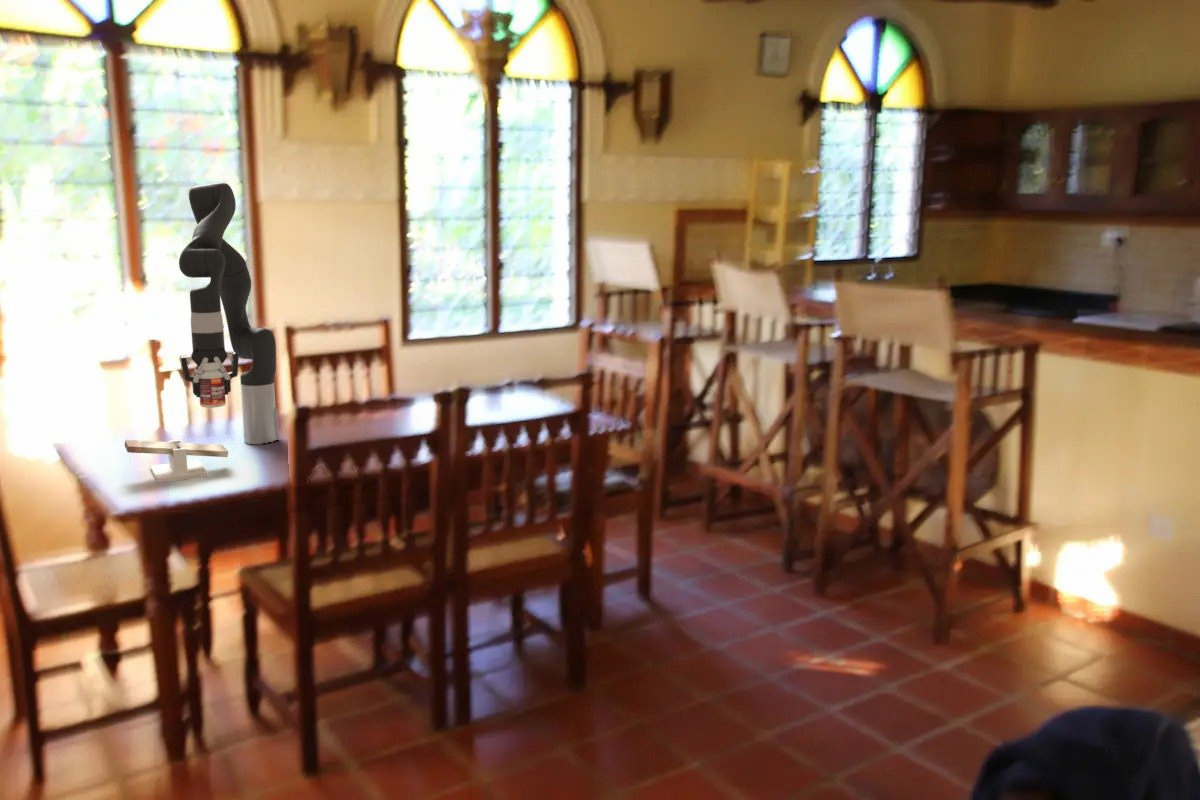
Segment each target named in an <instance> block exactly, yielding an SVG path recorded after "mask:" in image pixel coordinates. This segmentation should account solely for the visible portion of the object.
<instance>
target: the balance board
mask: <svg viewBox="0 0 1200 800" xmlns="http://www.w3.org/2000/svg"><path fill="white" fill-rule="evenodd" d="M124 447H125V450H126V452H127V453H128V454H129V453H131V454H133V453H134V454H135V453H136V454H157V455H169V454H172V455H173V449H180V448H186V456H194V457H212V458H213V457H216V458H217V457H218V458H228V455H229V450H228V449H226V447H225V446H224V445H223V444H209V443H207V444H204V443H188V442H180V443H177V442H173V443H172V442H168V441H153V440H151V441H150V440H136V439H135V440H134V439H125V440H124Z"/></svg>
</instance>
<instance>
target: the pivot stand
mask: <svg viewBox="0 0 1200 800" xmlns="http://www.w3.org/2000/svg"><path fill="white" fill-rule="evenodd" d="M167 442H172V443H173V442H177V443H181V439H175V440H167ZM187 460H188V457H187V455H186V448H180V449H173V455H172V454H168V462H169V463H164V464H153V465H150V466H149V467H150V468H149V469H150V471H151V473H152V475H153V478H154V479H155V481H156V482H157V483H165V482H166V483H167V482H174V481H181V480H182V481H183V480H190V479H189V478H191V479H199V477H200V478H205V477H208V476H209V475H208V472H207V470H206V469H205V467H204V466H203V464H202V463H201V462H200V460H199V459H196V460H189V461H187Z"/></svg>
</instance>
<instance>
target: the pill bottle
mask: <svg viewBox="0 0 1200 800" xmlns="http://www.w3.org/2000/svg"><path fill="white" fill-rule="evenodd" d="M203 366H204V370H203V372H202V374H201V375H200V378H199V380H198V382H199V386H200V397H198V398H199V405H200V407H202V408H205V409H207V408H208V409H214V408H215V409H216V408H221V407H224V406H225V405H226V402H227V401H226V395H225V384H224V375H223V373H222V372H221V371H220V370H219V369H220V367H219V363H218V362H216V363H215V362H210V363H205V364H203ZM203 366H202V367H203ZM200 370H201V369H200Z"/></svg>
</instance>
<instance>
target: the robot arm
mask: <svg viewBox="0 0 1200 800" xmlns="http://www.w3.org/2000/svg"><path fill="white" fill-rule="evenodd" d="M188 200H189V201H188V202H189V204H190V207H191V211H192V215H193V216H194V219H195V222H196V226H195V228H194V229H193V233H192V238H191V241H189V243H188V244H187V245H186V246H185V247H184V248H183V250H182V251H181V253H180V254H179V255H180V256H179V258H178V266H179V270H180V271H181V273H182V274H183V275H184V276H185V277H187V278H191V279H195V278H198V279H199V278H200V279H201V278H205V279H206V278H207V279H208V278H209V279H210V281H209V283H207V284H206V285H203V286H197V287H195V288H192V289H191V290H190V291H189V305H190V330H191V331H190V332H191V343H192V351H191V352H192V353H191V355H187V356H183V355H182V356H179V362H180V367H181V371H182V376H183V379H184V380H185V381H186V382H190V383H191V385H192V394H193V395H194V396H195V397H196V398H199V397H200V386H199V382H198V380H199V378H200V375H201V374H202V372H203V370H204V366H203V364H205V363H210V362H215V363H216V362H218V363H219V367H220V369H219V370H220V371H221V372H222V373H223V375H224V384H225V396H226V395H229V393H230V392H231V391H232V389H231V387H232V386H231V379H232V378H236V377H238V373H239V359H243V360H252V363H251V364H252V365H251V366H252V367H251V369H249V370H247V371H244V372H242V373H241V374H240V375H239V376H240V377H239V380H240V393H241V395H240V396H241V409H242V411H241V412H242V424H243V425H242V426H243V441H244V443H246V444H248V445H249V444H250V445H264V444H263V443H266V444H269V443H268V442H271V443H273V442H272V441H274V440H279V441H280V431H279V417H278V416H279V414H278V412H279V411H278V409H277V407H276V394H275V393H276V392H275V374H276V371H277V370H276V369H277V343H276V338H275V336H274V334H273V332H272V331H271V330H270V329H267V328H263V327H253V326H251V324H250V322H249V319H248V314H247V304H248V300H249V297H250V294H251V290H252V279H251V275H250V271H249V268H248V264H247V262H246V259H245V258H244V257H243V255H241V253H240V252H238V251H237V249H236V248H234V247H233V246H232V245H231V244H230V243H228V242H227V241H226V240H225V239H224V234H225V232H226V229H227V228H228V227H229V224H230V223H231V221H232V219H233V217H234V215H235V213H236V212H235V211H236V207H237V205H236V198H235V194H234V191H233V189H232V187H231V186H230V185H229V183H226V182H216V183H209V184H202V185H197V186H192V187H191V188H190V189H189V190H188ZM221 304H222V306H221ZM222 307H223V311H224V315H225V318H226V323H227V329H228V335H229V341H230V344H231V348H232V350H233V352H227V351H226V348H225V332H224V329H225V327H224V326H225V325H224V320H223V319H224V318H223V315H222ZM227 358H228V360H229V362H230V363H231V364H230V372H228V371H227V370H226V368H225V366H224V364H223V363H224V362H225V361H226V359H227ZM191 361H193V362H194V363H195V364H196V365H195V369H194V372H193V374H192V375H190V369H189V365H190V364H191ZM202 366H203V367H202ZM200 369H201V370H200Z"/></svg>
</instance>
